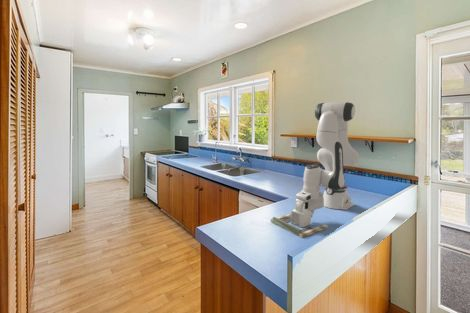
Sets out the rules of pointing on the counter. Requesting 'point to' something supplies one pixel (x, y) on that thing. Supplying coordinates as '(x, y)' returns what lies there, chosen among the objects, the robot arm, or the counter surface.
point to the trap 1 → (287, 220)
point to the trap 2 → (306, 229)
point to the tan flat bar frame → (292, 228)
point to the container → (301, 216)
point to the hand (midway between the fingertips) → (309, 217)
